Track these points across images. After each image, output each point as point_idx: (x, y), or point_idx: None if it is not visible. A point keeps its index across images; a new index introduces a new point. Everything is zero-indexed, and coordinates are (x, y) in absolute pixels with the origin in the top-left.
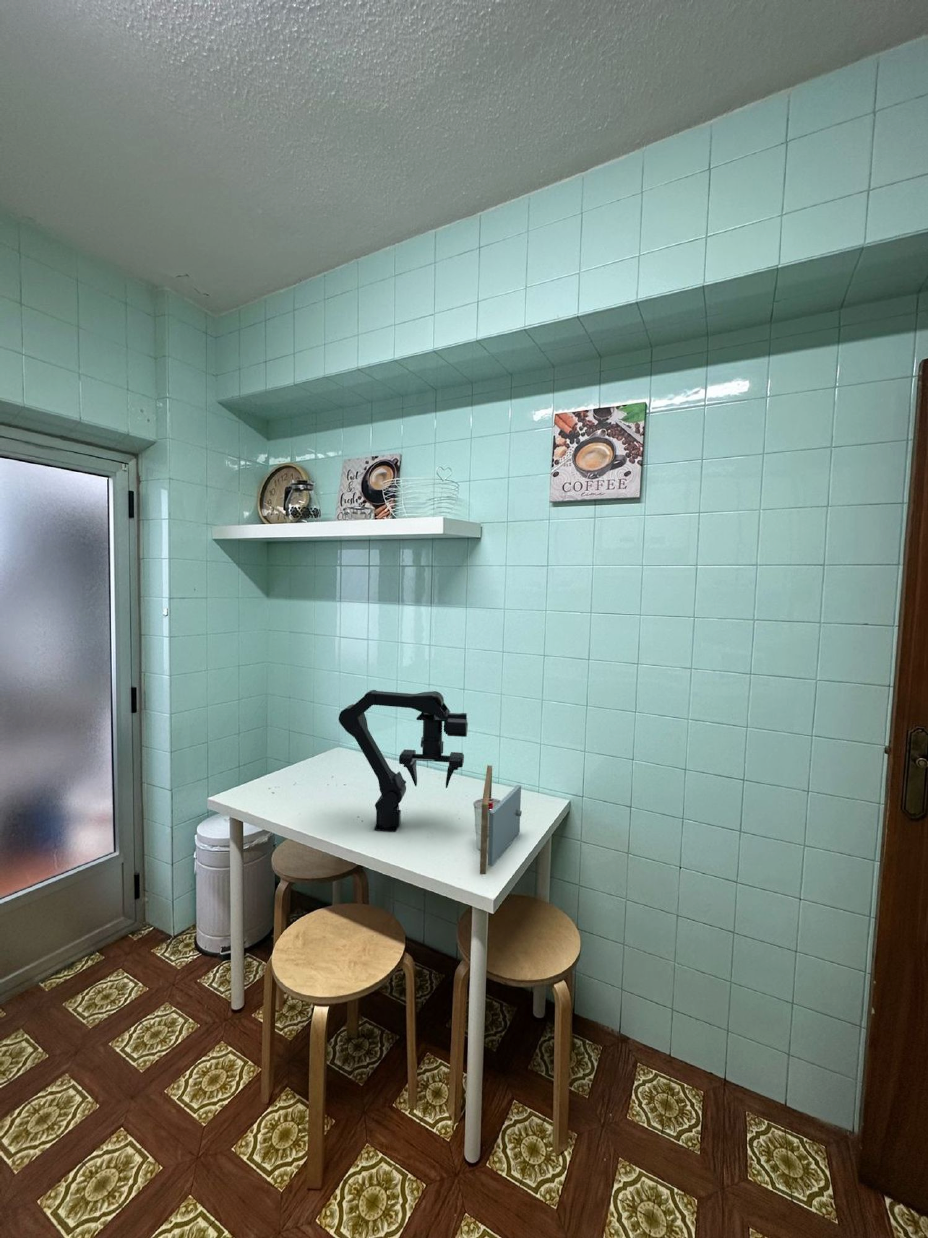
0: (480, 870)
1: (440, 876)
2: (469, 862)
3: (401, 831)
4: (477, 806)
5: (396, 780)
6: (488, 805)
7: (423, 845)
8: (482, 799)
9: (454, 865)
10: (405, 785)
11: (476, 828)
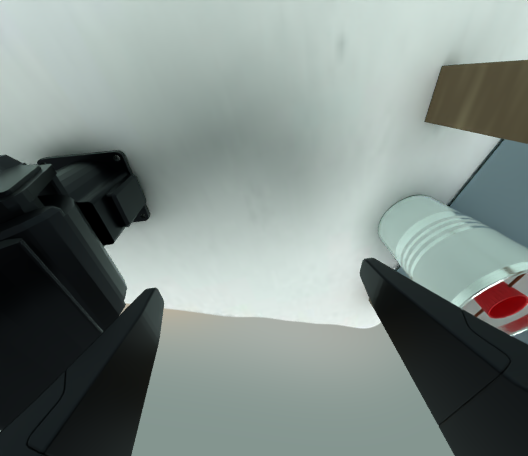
0: (372, 305)
1: (306, 318)
2: (354, 279)
3: (165, 207)
4: (461, 275)
5: (25, 406)
6: (507, 289)
7: (253, 253)
8: (511, 276)
9: (327, 292)
10: (38, 230)
11: (405, 271)
